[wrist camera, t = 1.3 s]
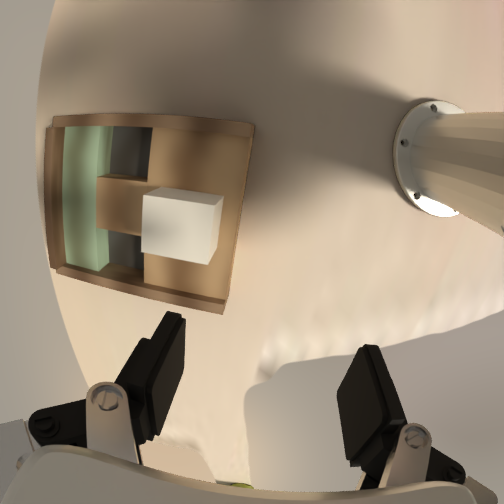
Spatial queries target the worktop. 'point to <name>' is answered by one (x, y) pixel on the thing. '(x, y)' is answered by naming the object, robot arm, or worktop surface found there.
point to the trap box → (141, 199)
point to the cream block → (181, 224)
